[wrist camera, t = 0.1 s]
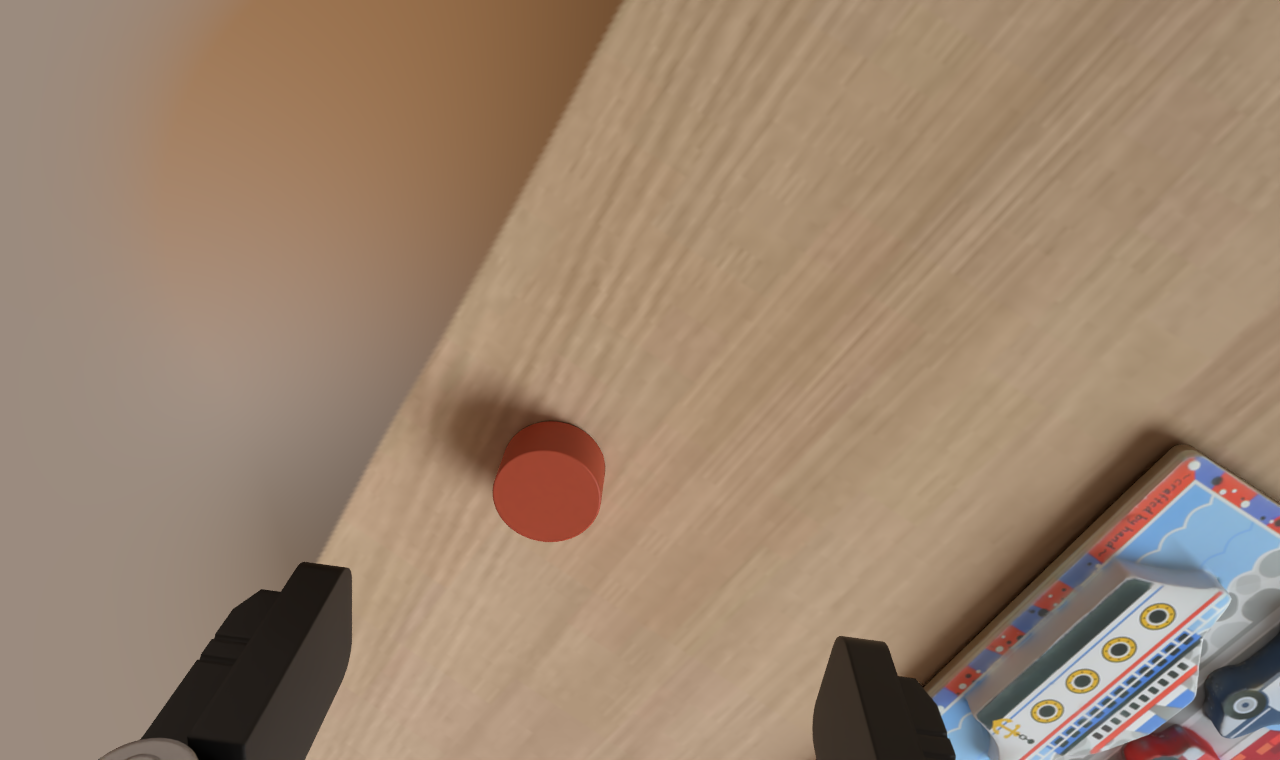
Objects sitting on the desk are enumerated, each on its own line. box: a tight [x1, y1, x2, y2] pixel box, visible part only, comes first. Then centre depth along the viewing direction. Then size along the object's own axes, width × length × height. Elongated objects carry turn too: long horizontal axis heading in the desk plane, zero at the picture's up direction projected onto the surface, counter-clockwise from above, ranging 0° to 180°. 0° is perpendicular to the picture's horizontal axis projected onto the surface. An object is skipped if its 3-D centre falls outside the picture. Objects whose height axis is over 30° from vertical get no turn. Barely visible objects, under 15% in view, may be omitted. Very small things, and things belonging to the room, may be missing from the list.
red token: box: [493, 421, 605, 542], centre depth 34 cm, size 4×4×2 cm
